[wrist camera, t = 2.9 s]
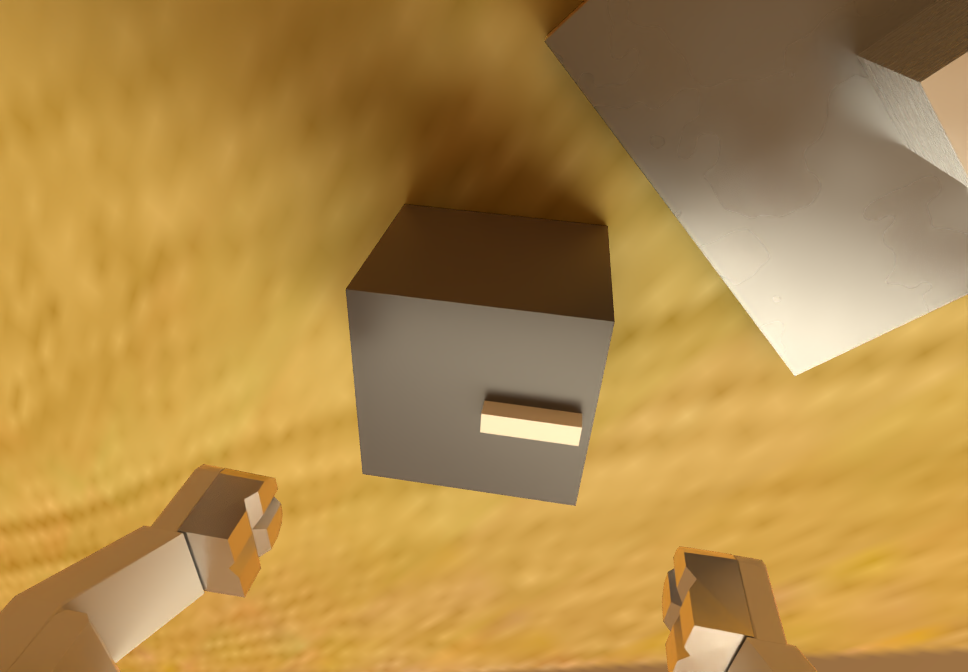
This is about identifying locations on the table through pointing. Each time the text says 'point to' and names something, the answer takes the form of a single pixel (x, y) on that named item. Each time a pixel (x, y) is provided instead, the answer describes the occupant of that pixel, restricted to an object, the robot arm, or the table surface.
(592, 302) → the grey drawer unit
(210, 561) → the robot arm
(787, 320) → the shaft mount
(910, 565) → the table surface
